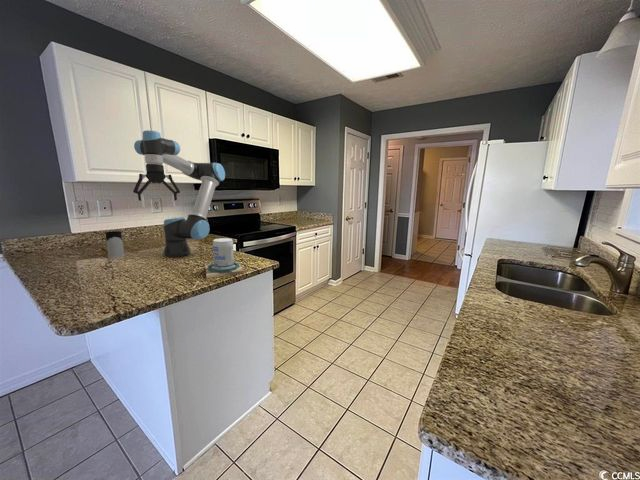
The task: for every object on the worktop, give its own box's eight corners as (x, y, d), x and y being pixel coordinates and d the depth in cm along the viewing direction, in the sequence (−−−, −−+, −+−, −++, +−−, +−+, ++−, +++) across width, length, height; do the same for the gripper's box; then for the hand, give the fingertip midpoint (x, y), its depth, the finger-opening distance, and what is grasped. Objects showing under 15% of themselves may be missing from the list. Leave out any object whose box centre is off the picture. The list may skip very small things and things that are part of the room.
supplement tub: (211, 270, 130) (209, 241, 127) (217, 265, 139) (216, 237, 137) (231, 270, 131) (229, 241, 128) (236, 265, 140) (235, 238, 137)
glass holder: (108, 259, 154) (104, 233, 151) (106, 254, 165) (103, 230, 162) (126, 256, 160) (123, 232, 157) (123, 252, 170) (120, 229, 167)
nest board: (205, 267, 140) (205, 262, 139) (238, 264, 147) (238, 259, 146) (206, 278, 124) (206, 272, 123) (243, 273, 131) (243, 268, 130)
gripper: (122, 162, 122) (128, 208, 126) (182, 164, 132) (186, 207, 136) (126, 163, 129) (131, 207, 133) (183, 165, 139) (186, 206, 143)
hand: (159, 207), depth 135 cm, fingers open, 13 cm apart
